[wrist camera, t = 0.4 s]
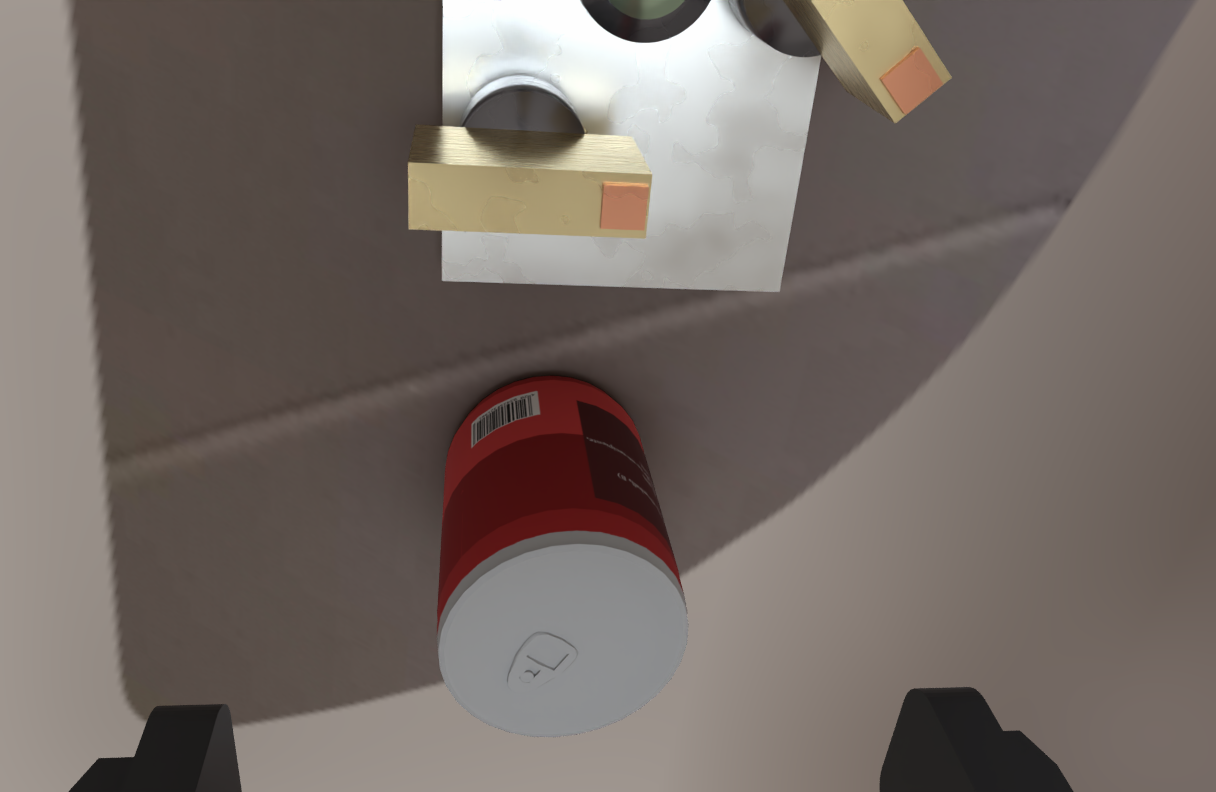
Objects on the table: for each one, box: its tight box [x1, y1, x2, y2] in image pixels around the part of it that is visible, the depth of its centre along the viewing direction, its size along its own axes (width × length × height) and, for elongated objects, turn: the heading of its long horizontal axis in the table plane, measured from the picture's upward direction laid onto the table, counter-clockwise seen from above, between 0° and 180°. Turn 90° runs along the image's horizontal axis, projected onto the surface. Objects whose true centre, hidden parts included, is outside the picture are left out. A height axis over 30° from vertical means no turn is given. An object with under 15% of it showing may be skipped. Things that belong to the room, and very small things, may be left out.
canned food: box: [437, 376, 688, 737], centre depth 35 cm, size 8×8×11 cm
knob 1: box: [408, 76, 653, 239], centre depth 29 cm, size 6×4×7 cm, turn 85°
